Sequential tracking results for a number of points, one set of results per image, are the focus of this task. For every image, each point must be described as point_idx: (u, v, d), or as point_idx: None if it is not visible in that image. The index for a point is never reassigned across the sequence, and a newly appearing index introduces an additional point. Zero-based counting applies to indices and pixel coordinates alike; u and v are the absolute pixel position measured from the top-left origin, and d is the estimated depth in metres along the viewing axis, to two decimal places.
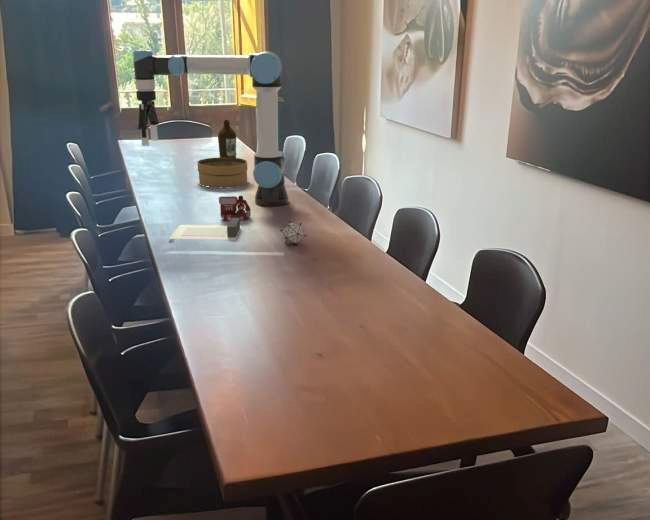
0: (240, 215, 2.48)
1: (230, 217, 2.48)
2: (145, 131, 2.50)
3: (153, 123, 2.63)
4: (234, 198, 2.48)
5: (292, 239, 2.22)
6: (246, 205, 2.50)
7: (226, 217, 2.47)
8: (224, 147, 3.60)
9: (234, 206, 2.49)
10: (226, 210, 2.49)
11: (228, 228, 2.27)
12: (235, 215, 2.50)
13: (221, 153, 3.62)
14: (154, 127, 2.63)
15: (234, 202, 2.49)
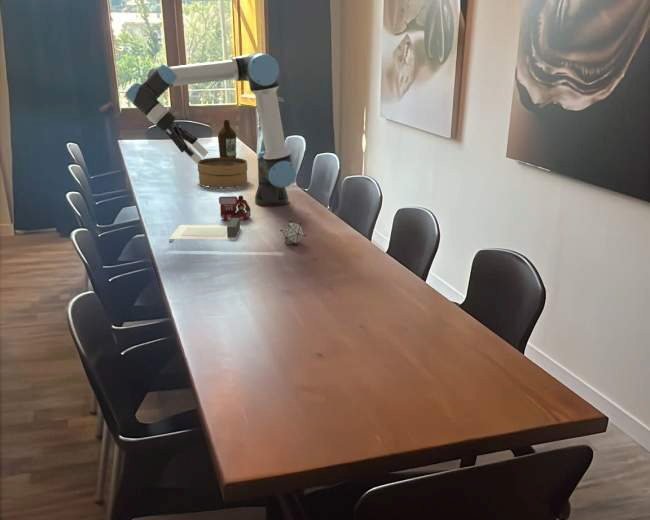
0: (240, 215, 2.48)
1: (230, 217, 2.48)
2: (188, 149, 2.35)
3: (193, 141, 2.48)
4: (234, 198, 2.48)
5: (292, 239, 2.22)
6: (246, 205, 2.50)
7: (226, 217, 2.47)
8: (224, 147, 3.60)
9: (234, 206, 2.49)
10: (226, 210, 2.49)
11: (228, 228, 2.27)
12: (235, 215, 2.50)
13: (221, 153, 3.62)
14: (196, 144, 2.48)
15: (234, 202, 2.49)
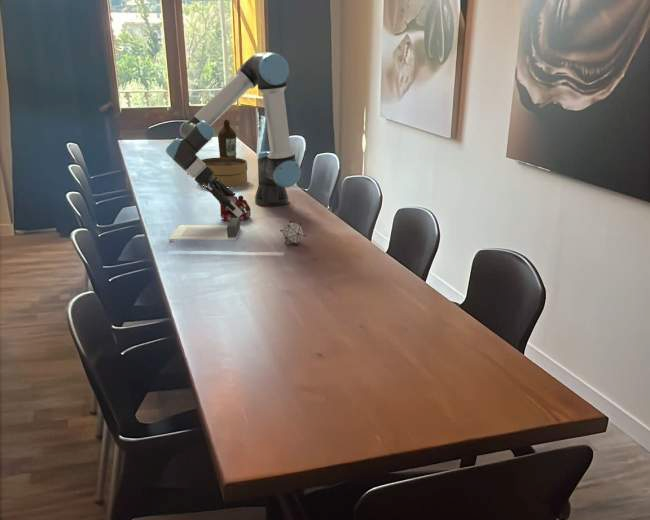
0: None
1: (230, 217, 2.48)
2: (230, 204, 2.44)
3: None
4: (234, 198, 2.48)
5: (292, 239, 2.22)
6: (246, 205, 2.50)
7: (226, 217, 2.47)
8: (224, 147, 3.60)
9: None
10: (226, 210, 2.49)
11: (228, 228, 2.27)
12: (235, 215, 2.50)
13: (221, 153, 3.62)
14: None
15: (234, 202, 2.49)
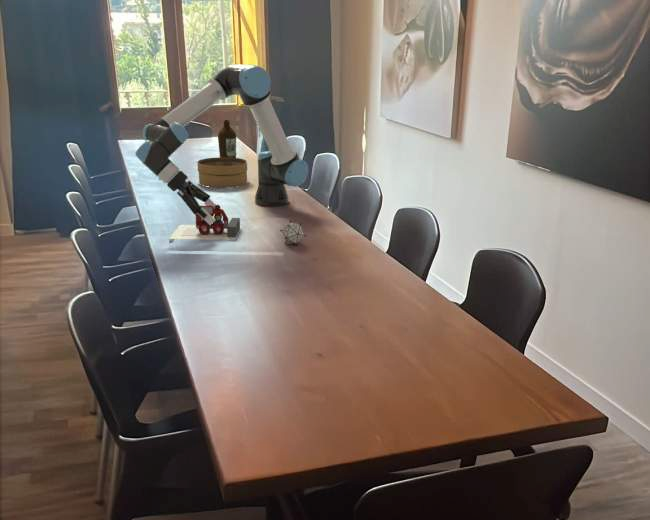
0: (216, 226, 2.29)
1: (206, 228, 2.29)
2: (201, 210, 2.23)
3: (205, 199, 2.37)
4: (210, 207, 2.30)
5: (292, 239, 2.22)
6: (223, 215, 2.31)
7: (202, 228, 2.29)
8: (224, 147, 3.60)
9: None
10: (202, 220, 2.30)
11: (228, 228, 2.27)
12: (211, 226, 2.32)
13: (221, 153, 3.62)
14: (209, 202, 2.36)
15: (210, 212, 2.30)
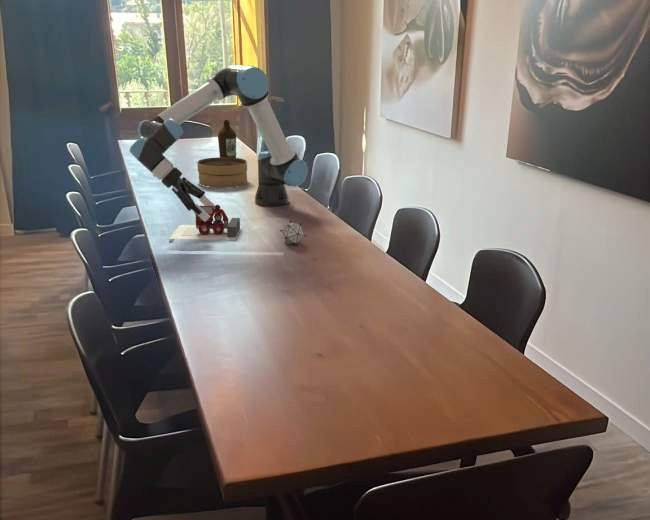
0: (216, 226, 2.29)
1: (205, 228, 2.29)
2: (196, 207, 2.22)
3: (200, 196, 2.36)
4: (210, 207, 2.30)
5: (292, 239, 2.22)
6: (223, 215, 2.31)
7: (201, 228, 2.29)
8: (224, 147, 3.60)
9: (210, 216, 2.31)
10: (202, 220, 2.30)
11: (228, 228, 2.27)
12: (211, 226, 2.32)
13: (221, 153, 3.62)
14: (204, 198, 2.36)
15: (210, 212, 2.30)
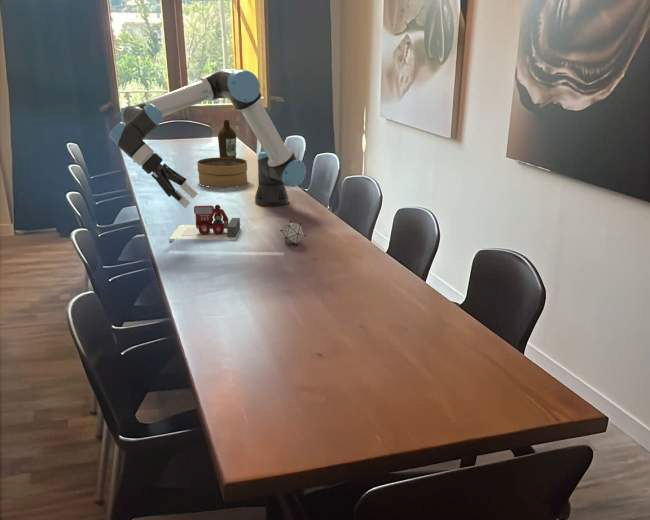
0: (216, 226, 2.29)
1: (205, 228, 2.29)
2: (176, 193, 2.20)
3: (181, 182, 2.34)
4: (210, 207, 2.30)
5: (292, 239, 2.22)
6: (223, 215, 2.31)
7: (201, 228, 2.29)
8: (224, 147, 3.60)
9: (210, 216, 2.31)
10: (202, 220, 2.30)
11: (228, 228, 2.27)
12: (211, 226, 2.32)
13: (221, 153, 3.62)
14: (185, 185, 2.34)
15: (210, 212, 2.30)
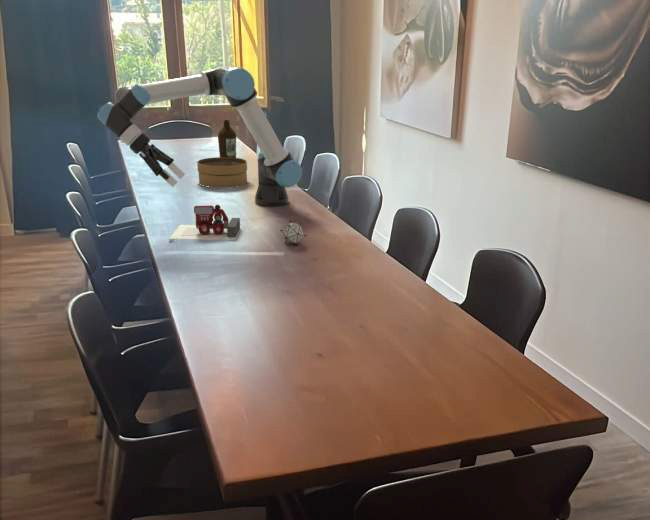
0: (216, 226, 2.29)
1: (205, 228, 2.29)
2: (163, 172, 2.25)
3: (169, 163, 2.38)
4: (210, 207, 2.30)
5: (292, 239, 2.22)
6: (223, 215, 2.31)
7: (201, 228, 2.29)
8: (224, 147, 3.60)
9: (210, 216, 2.31)
10: (202, 220, 2.30)
11: (228, 228, 2.27)
12: (211, 226, 2.32)
13: (221, 153, 3.62)
14: (172, 165, 2.38)
15: (210, 212, 2.30)
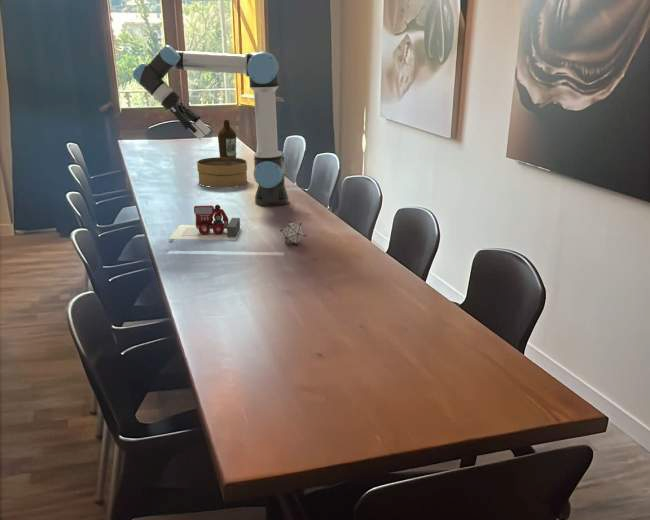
0: (216, 226, 2.29)
1: (205, 228, 2.29)
2: (192, 126, 2.48)
3: (196, 120, 2.62)
4: (210, 207, 2.30)
5: (292, 239, 2.22)
6: (223, 215, 2.31)
7: (201, 228, 2.29)
8: (224, 147, 3.60)
9: (210, 216, 2.31)
10: (202, 220, 2.30)
11: (228, 228, 2.27)
12: (211, 226, 2.32)
13: (221, 153, 3.62)
14: (199, 122, 2.62)
15: (210, 212, 2.30)
